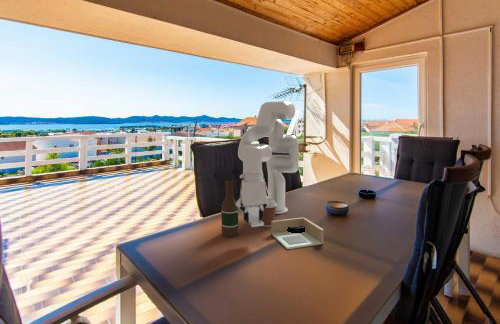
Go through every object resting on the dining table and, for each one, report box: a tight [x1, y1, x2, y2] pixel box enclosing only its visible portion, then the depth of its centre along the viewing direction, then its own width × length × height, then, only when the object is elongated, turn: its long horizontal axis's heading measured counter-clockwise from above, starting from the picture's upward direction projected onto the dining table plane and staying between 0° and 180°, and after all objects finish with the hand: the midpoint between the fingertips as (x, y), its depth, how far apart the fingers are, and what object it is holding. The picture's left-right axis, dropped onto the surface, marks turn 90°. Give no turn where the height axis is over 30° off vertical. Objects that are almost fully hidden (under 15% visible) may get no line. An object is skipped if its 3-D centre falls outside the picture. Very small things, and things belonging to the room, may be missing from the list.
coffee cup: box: [262, 199, 277, 228], centre depth 129 cm, size 9×9×12 cm
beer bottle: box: [220, 179, 239, 238], centre depth 117 cm, size 8×8×24 cm
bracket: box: [247, 205, 265, 228], centre depth 107 cm, size 6×5×6 cm
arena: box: [270, 216, 325, 250], centre depth 112 cm, size 16×16×6 cm
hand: (253, 219), depth 110 cm, fingers closed on bracket, 5 cm apart
